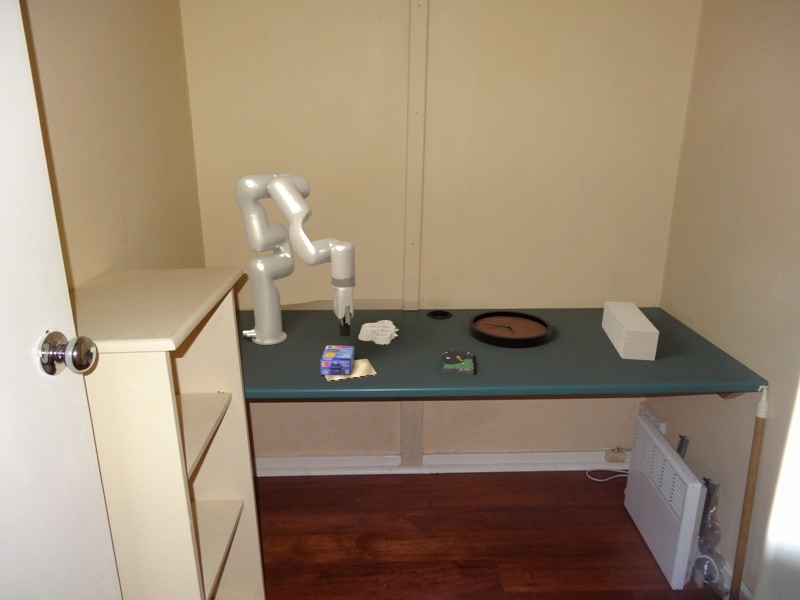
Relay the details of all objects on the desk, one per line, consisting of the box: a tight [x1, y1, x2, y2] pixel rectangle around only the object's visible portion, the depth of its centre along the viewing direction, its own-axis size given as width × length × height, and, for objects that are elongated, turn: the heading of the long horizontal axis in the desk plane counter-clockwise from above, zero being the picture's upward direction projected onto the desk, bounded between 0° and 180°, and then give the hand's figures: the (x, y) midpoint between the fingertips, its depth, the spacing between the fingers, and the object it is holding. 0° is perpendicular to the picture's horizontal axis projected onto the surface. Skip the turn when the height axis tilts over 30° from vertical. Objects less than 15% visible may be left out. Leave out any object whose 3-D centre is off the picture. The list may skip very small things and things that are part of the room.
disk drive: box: [441, 349, 475, 377], centre depth 181 cm, size 10×3×15 cm
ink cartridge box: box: [319, 345, 355, 376], centre depth 177 cm, size 10×6×14 cm
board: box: [324, 358, 378, 382], centre depth 177 cm, size 16×12×1 cm
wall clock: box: [468, 310, 553, 349], centre depth 210 cm, size 31×4×31 cm
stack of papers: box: [601, 300, 660, 361], centre depth 200 cm, size 32×11×11 cm, turn 173°
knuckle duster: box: [358, 319, 399, 346], centre depth 206 cm, size 3×18×15 cm
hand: (345, 335), depth 177 cm, fingers closed
